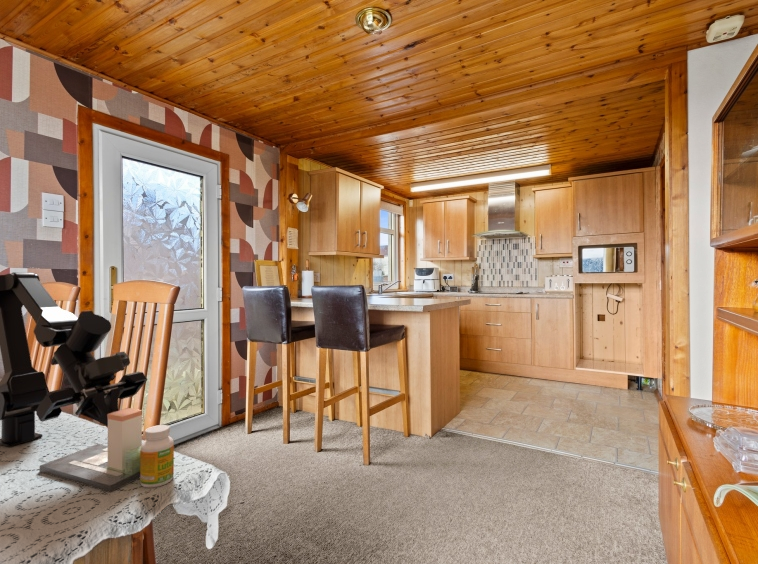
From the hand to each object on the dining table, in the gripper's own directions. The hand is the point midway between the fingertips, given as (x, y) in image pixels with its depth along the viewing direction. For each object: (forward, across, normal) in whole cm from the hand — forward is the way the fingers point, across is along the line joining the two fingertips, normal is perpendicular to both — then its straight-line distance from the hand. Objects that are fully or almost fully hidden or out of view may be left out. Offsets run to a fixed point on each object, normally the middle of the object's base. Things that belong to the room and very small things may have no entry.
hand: (116, 427), depth 78 cm
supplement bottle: (+14, 0, -2) cm, 14 cm away
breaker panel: (+4, -1, +7) cm, 8 cm away
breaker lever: (+6, 0, +3) cm, 7 cm away
